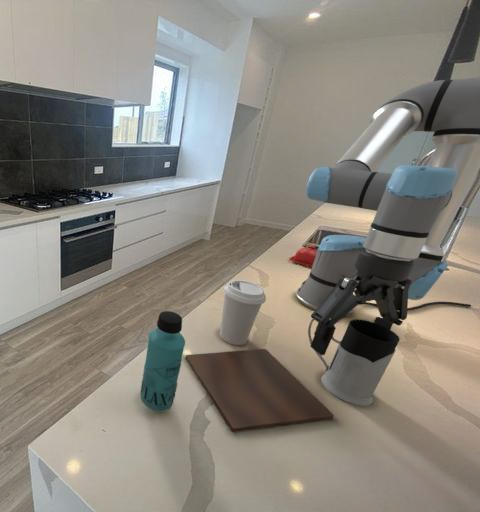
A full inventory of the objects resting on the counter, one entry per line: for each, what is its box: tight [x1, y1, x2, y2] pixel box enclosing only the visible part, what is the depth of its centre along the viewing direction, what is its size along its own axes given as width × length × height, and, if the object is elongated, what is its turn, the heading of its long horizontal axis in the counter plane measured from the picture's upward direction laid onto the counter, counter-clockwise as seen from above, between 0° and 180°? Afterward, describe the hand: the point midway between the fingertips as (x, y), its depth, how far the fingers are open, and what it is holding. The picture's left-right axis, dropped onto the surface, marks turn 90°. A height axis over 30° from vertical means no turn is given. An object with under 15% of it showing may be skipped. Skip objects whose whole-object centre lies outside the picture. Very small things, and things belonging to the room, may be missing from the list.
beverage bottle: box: [139, 310, 186, 412], centre depth 54 cm, size 6×7×20 cm
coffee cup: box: [219, 279, 267, 346], centre depth 76 cm, size 10×10×15 cm
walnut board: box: [184, 348, 335, 433], centre depth 63 cm, size 21×19×1 cm
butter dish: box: [288, 244, 318, 268], centre depth 129 cm, size 12×12×8 cm
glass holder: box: [307, 318, 401, 407], centre depth 63 cm, size 9×14×15 cm, turn 39°
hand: (344, 348), depth 62 cm, fingers open, 13 cm apart
